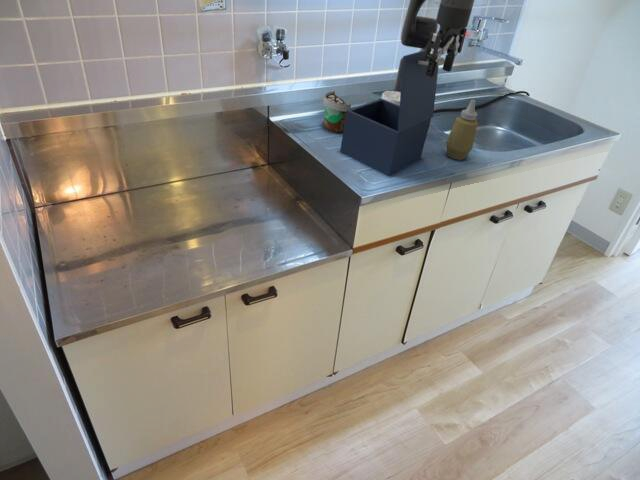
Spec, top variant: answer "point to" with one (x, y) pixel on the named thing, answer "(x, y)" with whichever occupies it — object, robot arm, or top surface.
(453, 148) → the squeeze bottle
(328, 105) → the food container
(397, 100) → the cup
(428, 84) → the tub lid
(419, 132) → the dish tub
